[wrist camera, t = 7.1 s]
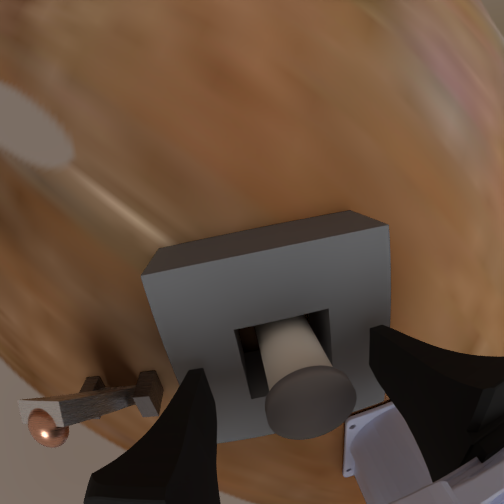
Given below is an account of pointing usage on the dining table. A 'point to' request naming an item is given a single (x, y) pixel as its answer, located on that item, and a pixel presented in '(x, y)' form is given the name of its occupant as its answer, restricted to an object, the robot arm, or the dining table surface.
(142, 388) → the lever bracket
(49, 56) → the dining table surface
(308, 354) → the peg
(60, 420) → the latch lever
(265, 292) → the hole block
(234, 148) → the dining table surface
